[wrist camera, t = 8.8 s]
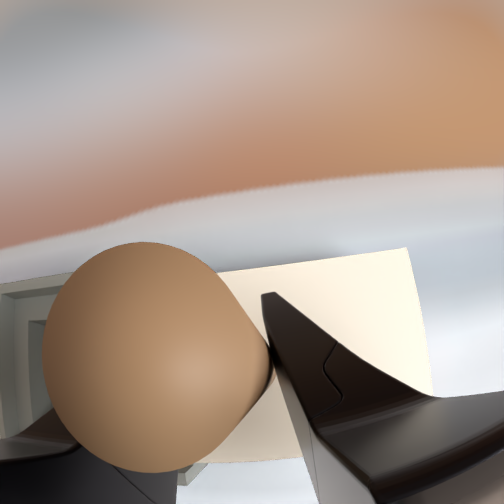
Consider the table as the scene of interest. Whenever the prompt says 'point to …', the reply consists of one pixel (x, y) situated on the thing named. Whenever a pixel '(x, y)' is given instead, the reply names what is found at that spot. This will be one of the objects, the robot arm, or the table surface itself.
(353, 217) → the table surface
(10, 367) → the box
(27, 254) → the table surface
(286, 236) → the table surface
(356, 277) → the cover plate
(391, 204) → the table surface
